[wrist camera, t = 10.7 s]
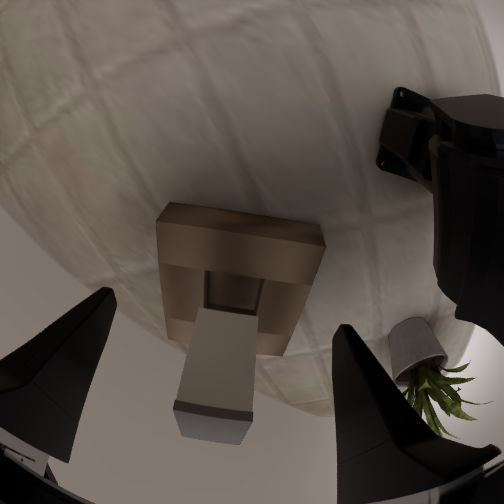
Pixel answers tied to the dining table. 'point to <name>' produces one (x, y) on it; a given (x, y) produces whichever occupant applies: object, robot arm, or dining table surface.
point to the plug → (218, 378)
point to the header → (236, 269)
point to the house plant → (424, 371)
